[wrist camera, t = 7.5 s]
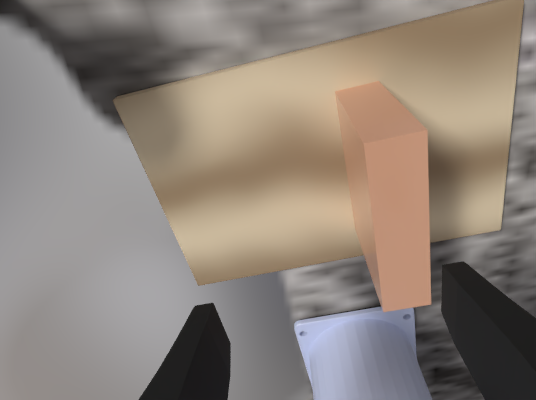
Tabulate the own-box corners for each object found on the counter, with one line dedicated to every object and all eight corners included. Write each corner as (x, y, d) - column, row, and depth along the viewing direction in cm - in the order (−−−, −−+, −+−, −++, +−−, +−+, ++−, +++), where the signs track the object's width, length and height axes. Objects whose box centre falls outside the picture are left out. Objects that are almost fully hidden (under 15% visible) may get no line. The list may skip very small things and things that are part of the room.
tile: (391, 222, 21) (431, 304, 16) (355, 229, 21) (383, 312, 16) (378, 80, 17) (427, 129, 12) (334, 91, 17) (363, 143, 12)
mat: (495, 223, 22) (500, 229, 21) (199, 279, 24) (198, 285, 23) (516, -6, 16) (524, -5, 15) (116, 96, 18) (112, 100, 17)
